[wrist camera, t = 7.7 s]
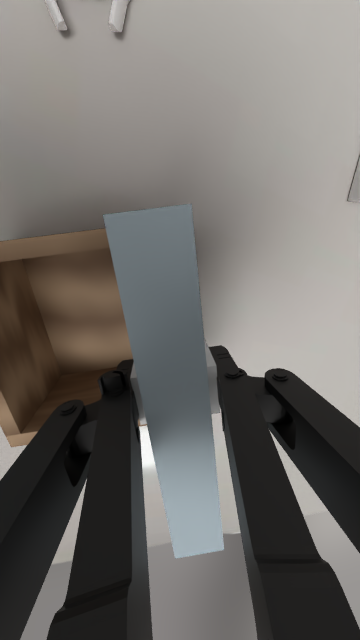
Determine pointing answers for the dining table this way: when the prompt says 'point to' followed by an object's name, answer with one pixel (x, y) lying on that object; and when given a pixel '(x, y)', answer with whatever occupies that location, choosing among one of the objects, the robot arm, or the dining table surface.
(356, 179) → the milk carton
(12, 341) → the cabinet
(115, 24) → the door handle
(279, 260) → the dining table surface
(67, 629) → the robot arm
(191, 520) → the door
